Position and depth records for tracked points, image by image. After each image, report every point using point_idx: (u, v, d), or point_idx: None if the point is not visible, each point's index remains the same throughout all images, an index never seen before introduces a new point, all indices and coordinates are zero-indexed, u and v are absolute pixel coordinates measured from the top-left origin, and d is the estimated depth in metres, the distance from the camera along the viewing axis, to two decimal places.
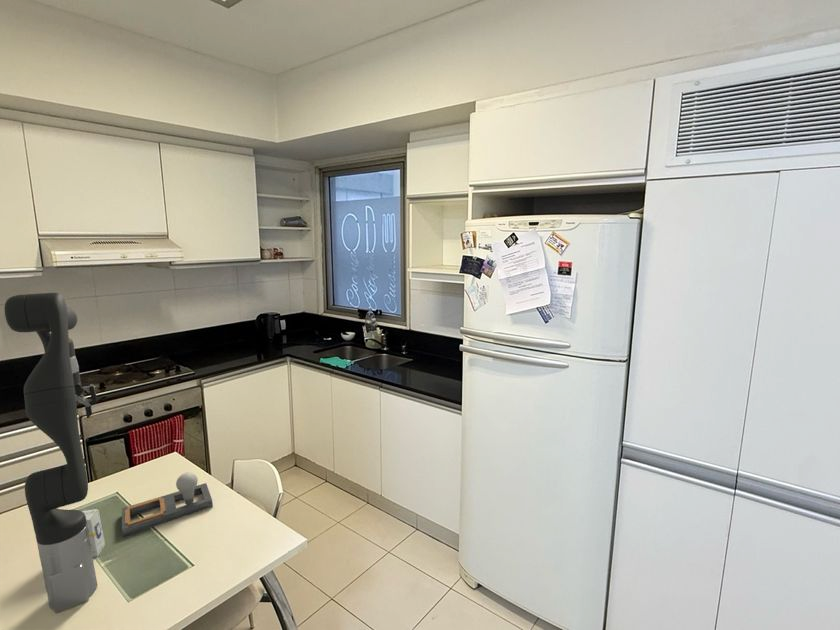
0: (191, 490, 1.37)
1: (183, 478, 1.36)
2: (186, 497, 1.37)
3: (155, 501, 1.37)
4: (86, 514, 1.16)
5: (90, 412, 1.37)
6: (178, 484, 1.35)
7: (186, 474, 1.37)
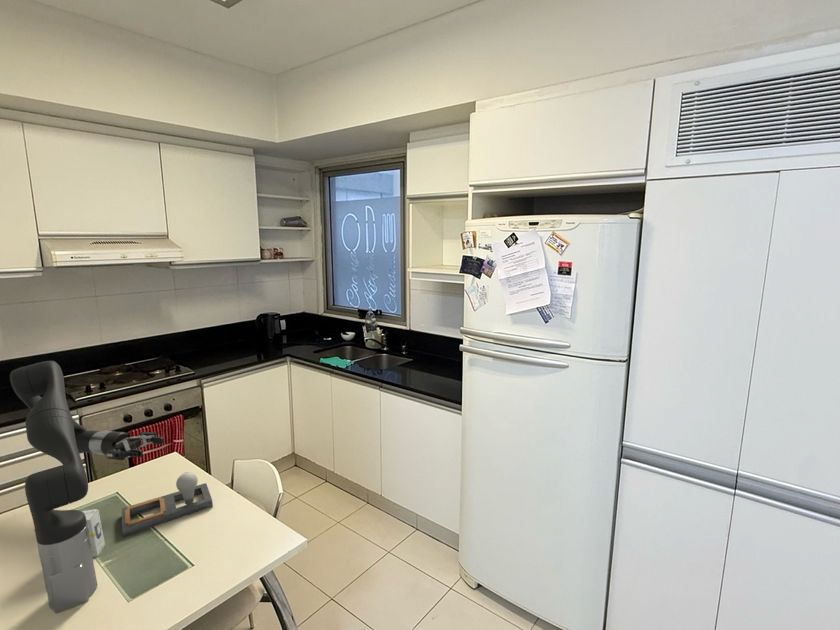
0: (191, 490, 1.37)
1: (183, 478, 1.36)
2: (186, 497, 1.37)
3: (155, 501, 1.37)
4: (86, 514, 1.16)
5: None
6: (178, 484, 1.35)
7: (186, 474, 1.37)
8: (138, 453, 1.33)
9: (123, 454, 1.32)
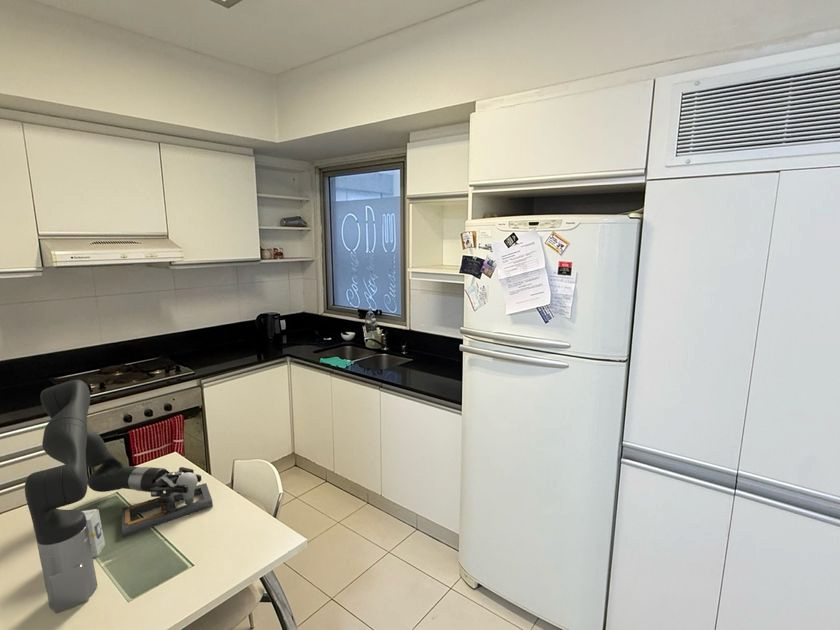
0: (191, 490, 1.37)
1: (183, 478, 1.35)
2: (186, 497, 1.37)
3: (155, 501, 1.37)
4: (86, 514, 1.16)
5: (197, 475, 1.41)
6: (178, 484, 1.35)
7: (186, 474, 1.37)
8: (183, 489, 1.34)
9: (169, 490, 1.33)
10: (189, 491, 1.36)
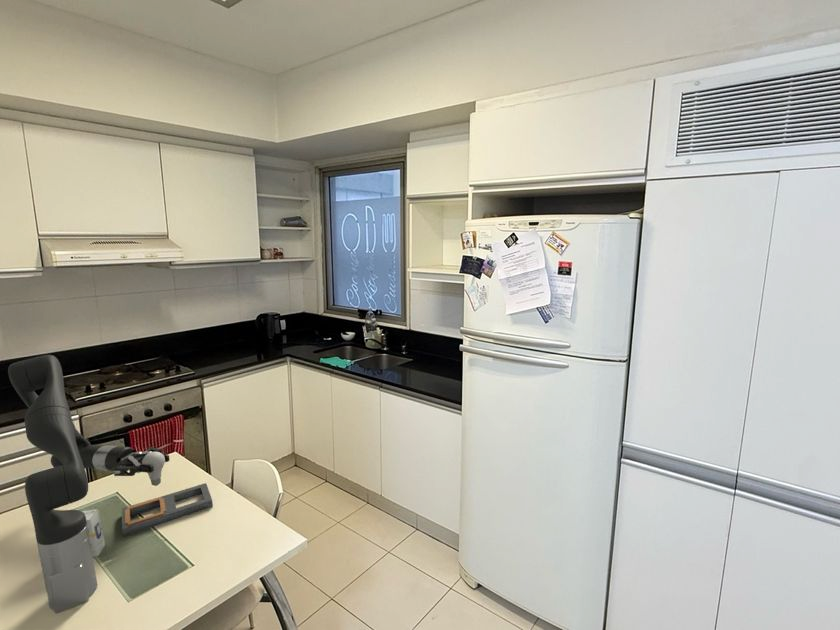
0: (157, 470, 1.30)
1: (149, 457, 1.29)
2: (152, 477, 1.30)
3: (155, 501, 1.37)
4: (86, 514, 1.16)
5: None
6: (143, 463, 1.28)
7: (152, 453, 1.30)
8: (149, 468, 1.27)
9: (133, 469, 1.26)
10: (155, 471, 1.30)
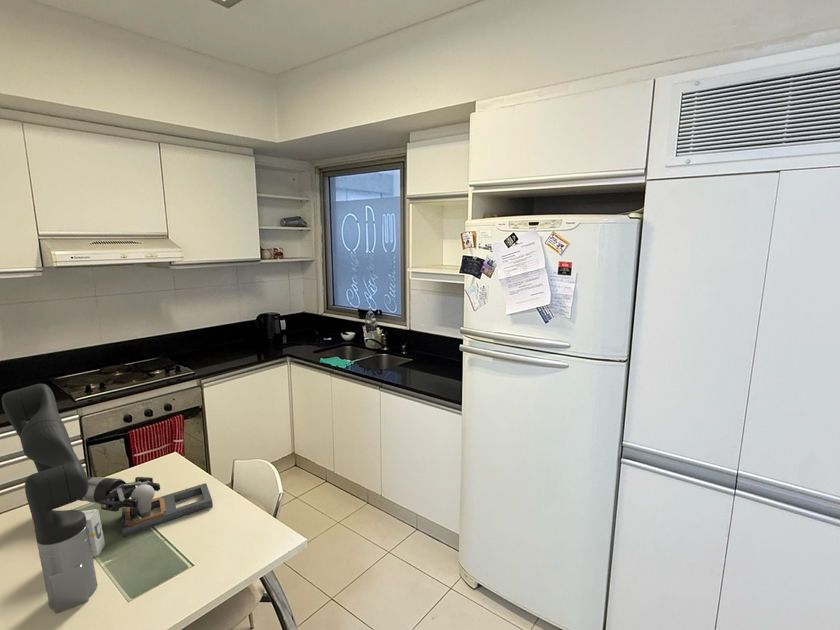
0: (147, 503, 1.30)
1: (138, 491, 1.29)
2: (142, 511, 1.30)
3: (155, 501, 1.37)
4: (86, 514, 1.16)
5: None
6: (133, 497, 1.28)
7: (142, 486, 1.30)
8: (133, 503, 1.26)
9: (117, 505, 1.25)
10: (145, 504, 1.30)
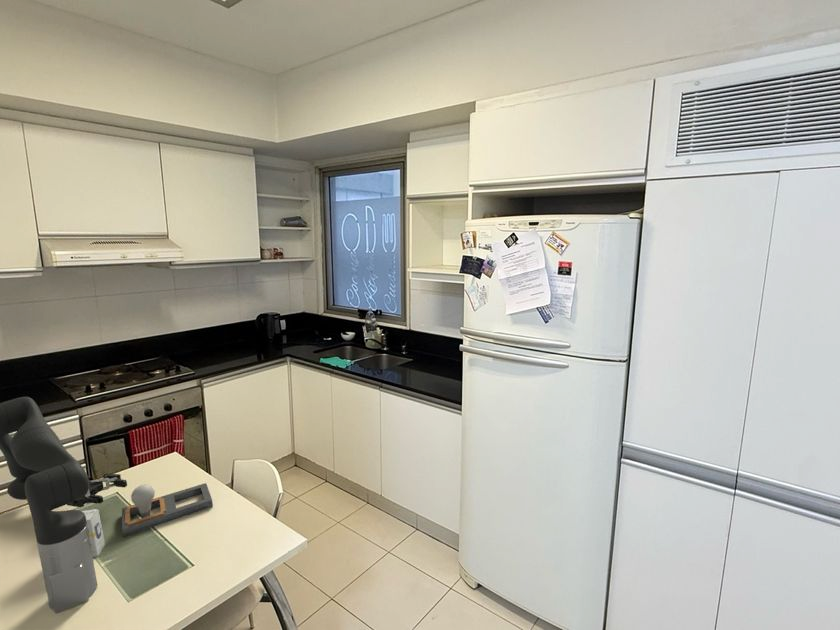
0: (147, 503, 1.30)
1: (138, 491, 1.29)
2: (142, 511, 1.30)
3: (155, 501, 1.37)
4: (86, 514, 1.16)
5: (123, 480, 1.38)
6: (133, 497, 1.28)
7: (142, 486, 1.30)
8: (98, 499, 1.28)
9: (82, 501, 1.27)
10: (145, 504, 1.30)
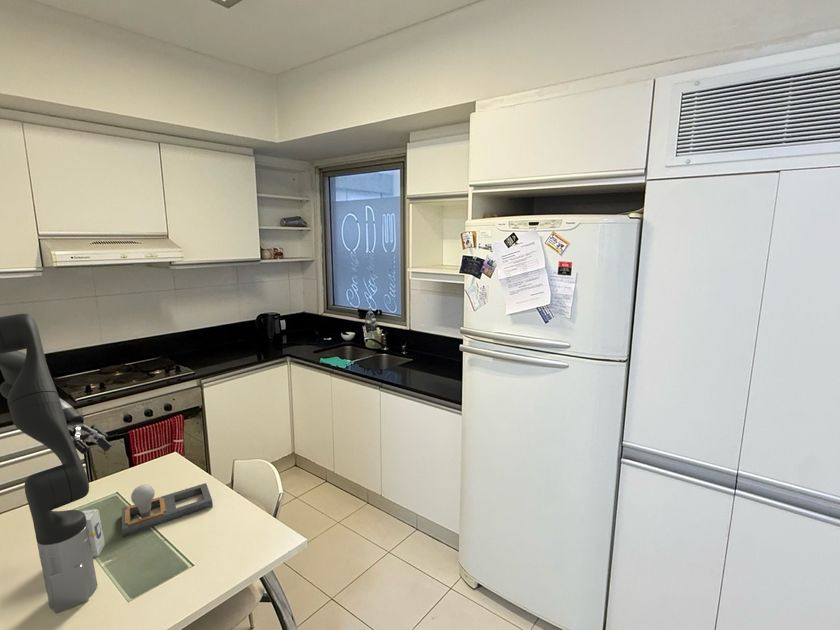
0: (147, 503, 1.30)
1: (138, 491, 1.29)
2: (142, 511, 1.30)
3: (155, 501, 1.37)
4: (86, 514, 1.16)
5: (108, 443, 1.31)
6: (133, 497, 1.28)
7: (142, 486, 1.30)
8: (84, 449, 1.21)
9: None
10: (145, 504, 1.30)
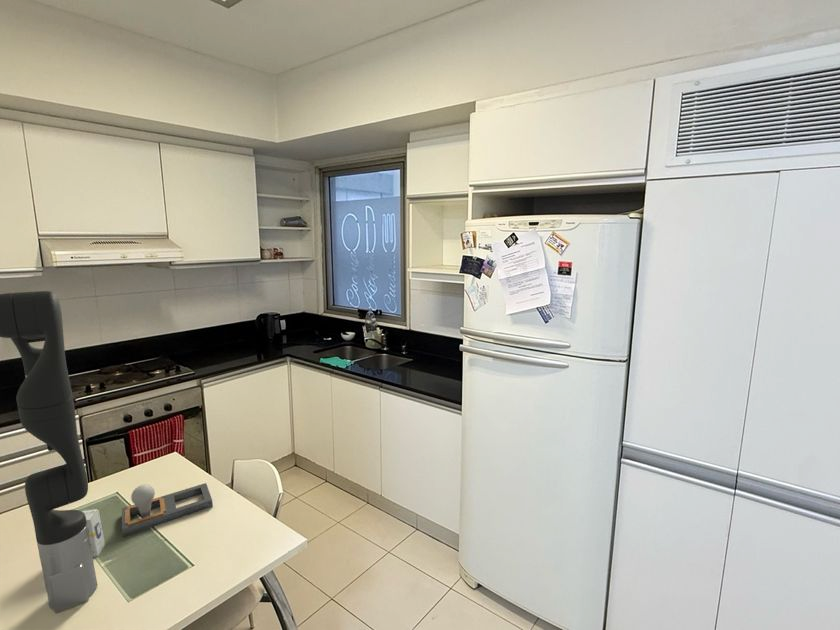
0: (147, 503, 1.30)
1: (138, 491, 1.29)
2: (142, 511, 1.30)
3: (155, 501, 1.37)
4: (86, 514, 1.16)
5: None
6: (133, 497, 1.28)
7: (142, 486, 1.30)
8: None
9: None
10: (145, 504, 1.30)
